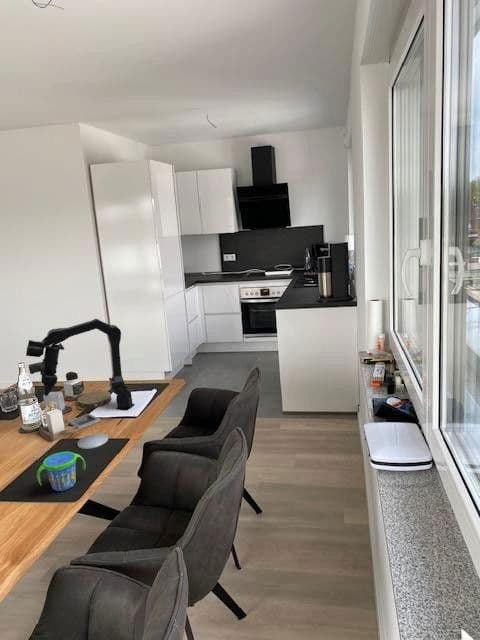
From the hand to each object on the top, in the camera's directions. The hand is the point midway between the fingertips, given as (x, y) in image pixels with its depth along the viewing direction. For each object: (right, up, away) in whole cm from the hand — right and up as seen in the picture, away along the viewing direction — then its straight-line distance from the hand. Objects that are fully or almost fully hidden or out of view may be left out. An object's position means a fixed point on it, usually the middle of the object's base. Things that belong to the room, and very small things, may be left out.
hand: (45, 392), depth 214 cm
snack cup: (+26, -25, -49) cm, 61 cm away
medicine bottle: (0, -7, +40) cm, 40 cm away
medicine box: (-3, -12, +20) cm, 23 cm away
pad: (+26, -17, -17) cm, 36 cm away
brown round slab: (+14, -9, +26) cm, 31 cm away
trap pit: (+17, -14, +2) cm, 22 cm away
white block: (+8, -17, -7) cm, 19 cm away
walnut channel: (+8, -17, -7) cm, 19 cm away
